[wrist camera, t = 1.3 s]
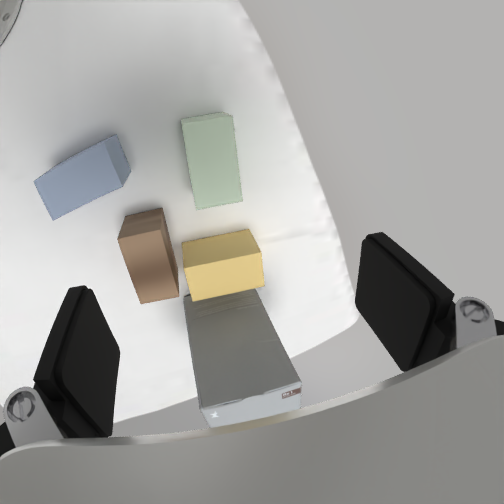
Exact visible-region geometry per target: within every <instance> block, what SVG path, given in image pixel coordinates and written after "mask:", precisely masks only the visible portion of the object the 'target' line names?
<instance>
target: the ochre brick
mask: <svg viewBox="0 0 504 504" xmlns="http://www.w3.org/2000/svg"><path fill="white" fill-rule="evenodd" d="M182 251H183V265H184V271H185V275H186V279H187V282H188V286H189V290H190V293H191V297H192V301H198V300H203V299H208V298H212V297H217V296H222V295H226V294H231V293H236V292H240V291H245V290H249V289H254V288H258V287H263V286H265V285H264V275H263V265H262V254H261V251H260V249H259V247H258V245H257V243H256V241H255V239H254V237H253V235H252V234H251V232H250V230H249V229H247V230H242V231H237V232H232V233H227V234H222V235H217V236H212V237H207V238H202V239H197V240H192V241H188V242H183V243H182Z"/></svg>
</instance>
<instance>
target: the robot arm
mask: <svg viewBox="0 0 504 504" xmlns="http://www.w3.org/2000/svg"><path fill="white" fill-rule="evenodd" d="M21 2H22V0H0V45H1V43H2V42H3V40H4V39H5V37H6V36H7V34H8V33H9V31H10V29H11V27H12V25H13V23H14V22H15V19H16V17H17V14H18V12H19V9H20V5H21ZM453 297H454V293H453V292H452V291H451V290H450V289H448V288H447V287H446V286H445V285H444V284H443V283H442V282H441V281H439V279H437V278H436V277H435V276H434V275H433V274H432V273H431V272H429V271H428V270H427V269H426V268H425V267H424V266H423V265H422V264H420V263H419V262H418V261H417V260H416V259H415V258H413V257H412V256H411V255H410V254H409V253H407V252H406V251H405V250H404V249H403V248H402V247H400V246H399V245H398V244H397V243H396V242H394V241H393V240H392V239H391V238H389V237H388V236H387V235H386V234H384V233H383V232H379V233H374V234H368V235H367V236H366V239H364V240H363V241H362V247H361V257H360V266H359V275H358V282H357V289H356V296H355V304H356V307H357V309H358V311H359V312H360V313H361V315H362V316H363V317H364V319H365V320H366V322H367V323H368V324H369V326H370V327H371V328H372V330H373V331H374V333H375V334H376V335H377V337H378V338H379V340H380V341H381V342H382V344H383V345H384V347H385V348H386V349H387V351H388V352H389V354H390V355H391V356H392V358H393V359H394V361H395V362H396V364H397V365H398V367H399V368H400V369H401V370H402V371H404V373H402V374H399V375H397V376H395V377H392V378H390V379H387V380H385V381H383V382H380V383H377V384H374V385H372V386H369V387H366V388H363V389H361V390H358V391H355V392H352V393H349V394H346V395H343V396H340V397H337V398H334V399H331V400H328V401H324V402H321V403H318V404H314V405H311V406H307V407H304V408H300V409H297V410H293V411H289V412H285V413H281V414H277V415H273V416H269V417H264V418H260V419H255V420H251V421H246V422H241V423H235V424H230V425H224V426H219V427H213V428H206V429H200V430H193V431H185V432H177V433H168V434H157V435H145V436H129V437H109V438H108V436H111V435H112V429H113V416H114V404H115V394H116V384H117V376H118V368H119V360H120V350H119V346H118V344H117V342H116V340H115V338H114V336H113V334H112V332H111V330H110V328H109V326H108V324H107V321H106V319H105V317H104V315H103V313H102V311H101V308H100V306H99V304H98V302H97V299H96V297H95V295H94V292H93V290H92V289H88V288H87V287H86V286H85V285H83V286H77V287H72V288H69V290H68V292H67V294H66V296H65V298H64V300H63V303H62V305H61V307H60V310H59V312H58V314H57V317H56V319H55V321H54V324H53V326H52V329H51V331H50V334H49V336H48V339H47V342H46V344H45V347H44V350H43V352H42V355H41V358H40V361H39V364H38V367H37V370H36V373H35V376H34V379H33V380H34V382H35V384H34V388H31V387H22V388H19V389H17V390H15V391H14V392H13V393H11V394H10V395H9V397H8V398H7V400H6V402H5V404H4V409H3V415H4V419H5V422H4V423H3V424H2V425H1V426H0V504H504V322H502V321H499V320H495V319H494V316H493V312H492V310H491V308H490V307H489V306H488V305H487V304H486V303H485V302H483V301H482V300H480V299H477V298H474V297H462V298H461V299H459V300H458V301H457V303H456V304H455V303H454V302H453V301H452V300H453ZM405 371H406V372H405Z"/></svg>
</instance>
